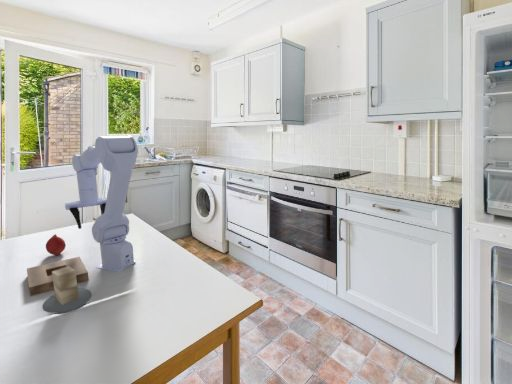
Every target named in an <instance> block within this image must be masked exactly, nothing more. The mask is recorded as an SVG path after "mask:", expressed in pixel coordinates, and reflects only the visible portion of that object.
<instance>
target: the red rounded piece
mask: <svg viewBox="0 0 512 384" xmlns="http://www.w3.org/2000/svg"><path fill="white" fill-rule="evenodd" d="M65 249H66V241H65V240H64V239H63V238H62V237H59V236H58V235H57V234H53V235H52V236H51V237H50V238H49V239H48V240H47V242H46V244H45V250H46V252H47V253H49V254H51V255H53V256H59V255H60V254H62V253H63V251H65Z"/></svg>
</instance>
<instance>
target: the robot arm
mask: <svg viewBox="0 0 512 384" xmlns="http://www.w3.org/2000/svg"><path fill="white" fill-rule="evenodd" d="M138 153H139V148H138V145H137V142H136V140H135V138H134V137H133V136H132V135H127V136H101V135H100V136H97V138H96V139H95V142H94V145H89V146H87V148H86V149H85V150H83V152H82V153H80V154H77V153H76V154H73V155H72V158H71V159H72V160H71V164H72V167H73V168H72V169H74V171H75V172H76V179H77V187H78V188H77V189H78V196H79V198H78V199H79V200H76V201H71V202H66V203H64V208H65V210H66V211H70V213H71V214H72V216H73V218H74V219H75V222H76V224H77V228H78V229H82V224H81V216H80V214H81V212H80V209H79V208H87V207H94V206H99V208H100V215H99V216H98V217H96V218H95V222H94V223H93V225H92V227H91V234H92V237H93V239H94V240H95V241H94V242H97V243H99V248H100V256H101V257H100V260H101V263H100V264H98V265H97V266H96V267H95V268H97V269H102V270H107V271H112V272H122V271H123V270H125V269H126V268H128V267H129V266H133V264H135V263H136V262H137V261H136V260H135V257H134V248H133V244H132V243H131V242H130V241H127V240H126V239H127V236H128V234H129V232H130V220H129V217H127V216H128V215H126V214H125V213H124V209H125V205H126V200H127V195H128V191H129V186H130V182H131V176H132V171H133V169H134V168H135V166H136V162H137V157H138ZM100 164H101V166H102V169H104V170H105V171H108V172H110V173H111V174H110V178H109V179H110V180H109V183H108V184H109V185H108V190H107V196H106V197H105V198H99V193H98V183H97V175H98V166H99V165H100Z"/></svg>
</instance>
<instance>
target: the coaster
mask: <svg viewBox="0 0 512 384" xmlns="http://www.w3.org/2000/svg"><path fill="white" fill-rule="evenodd" d="M78 295H79V298H78V299H76V300H73V301H71V302H68V303H66V304H64V305H62V304H60V303H59V302H58V301H57V300H56V297H55V294H53V295H51V296H49V297H48V298H46V300H45V301H44V302H43V304H42V309H43V310H44V311H45V312H48V313H53V315H60V314H67V313H70V312H74V311H76V310H78V309H81V308H83V307H84V306H86V305H87V304H88V303H87V302H89V301H90V299H91V298H92V296H93V294H92V291H91V290H89V289H87V288H83V287H82V288H78Z"/></svg>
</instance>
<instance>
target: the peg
mask: <svg viewBox="0 0 512 384" xmlns="http://www.w3.org/2000/svg"><path fill="white" fill-rule="evenodd" d="M52 277H53V283H54V290H53V291H54V295H55V297H56V300H57V301H58V302H59V303H60V304H62V305H64V304H66V303H68V302H71V301H73V300H76V299H78V298H79V295H78V283H77V279H76V271H75V270H74V269H72V268H71V267H69V266H68V267H65V268H61V269H58V270H55V271H52Z"/></svg>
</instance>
